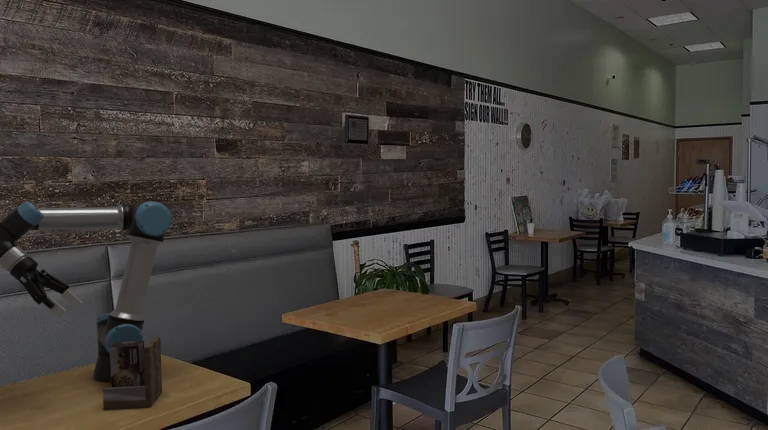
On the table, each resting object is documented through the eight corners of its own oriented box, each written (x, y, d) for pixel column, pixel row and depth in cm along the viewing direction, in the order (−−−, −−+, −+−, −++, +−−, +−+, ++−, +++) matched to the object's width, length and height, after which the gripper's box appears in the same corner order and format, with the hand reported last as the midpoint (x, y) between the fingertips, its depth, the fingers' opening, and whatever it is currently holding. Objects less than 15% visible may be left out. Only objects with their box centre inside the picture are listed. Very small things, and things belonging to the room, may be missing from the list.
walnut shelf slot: (118, 395, 200) (116, 339, 199) (162, 392, 202) (160, 337, 201) (103, 410, 186) (101, 350, 185) (150, 407, 188) (148, 348, 187)
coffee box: (146, 389, 197) (145, 340, 197) (141, 396, 191) (139, 345, 190) (117, 391, 196) (115, 341, 196) (110, 397, 190) (109, 346, 189)
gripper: (29, 267, 203) (77, 310, 205) (-11, 278, 178) (45, 326, 180) (45, 251, 203) (93, 294, 205) (7, 259, 178) (63, 308, 181)
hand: (71, 309), depth 193 cm, fingers open, 13 cm apart
